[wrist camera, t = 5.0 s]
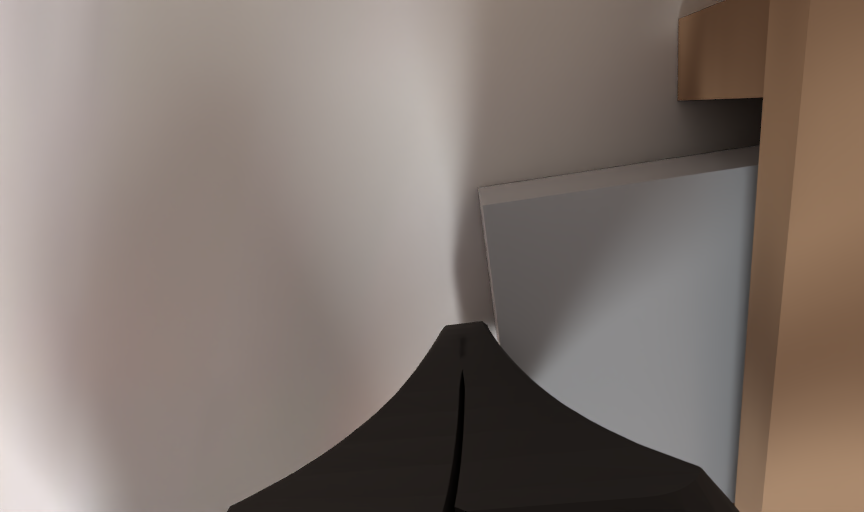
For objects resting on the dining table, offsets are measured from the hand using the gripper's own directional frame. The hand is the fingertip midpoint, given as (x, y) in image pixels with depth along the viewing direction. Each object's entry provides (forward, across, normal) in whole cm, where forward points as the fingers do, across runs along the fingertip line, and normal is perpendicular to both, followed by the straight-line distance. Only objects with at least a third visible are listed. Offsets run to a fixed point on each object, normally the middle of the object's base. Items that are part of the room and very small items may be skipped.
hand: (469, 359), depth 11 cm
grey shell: (+1, -6, 0) cm, 6 cm away
